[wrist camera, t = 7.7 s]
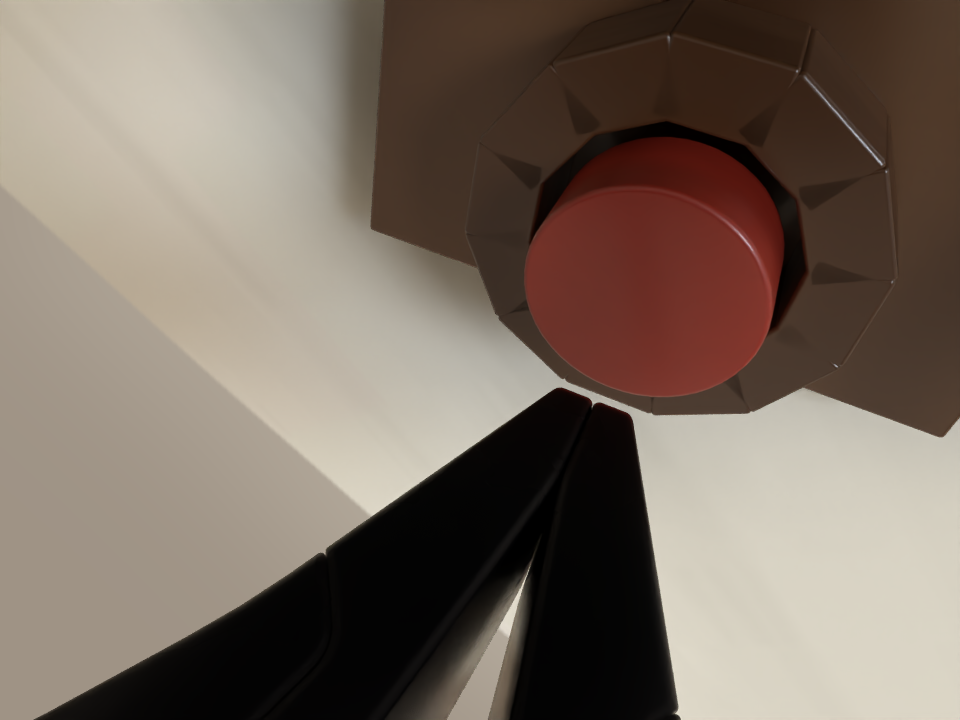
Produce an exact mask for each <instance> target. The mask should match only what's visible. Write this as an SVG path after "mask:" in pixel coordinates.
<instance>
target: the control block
mask: <svg viewBox="0 0 960 720" xmlns="http://www.w3.org/2000/svg"><path fill="white" fill-rule="evenodd" d="M650 137H674V138H682V139H688V140H692V141H696V142H700V143H703V144H706V145H709V146H711V147H714V148H716V149H718V150H720V151H722V152H724V153H726V154H728V155H730V156H731V157H733V158H734V159H736V160H737V161H738V162H740V163H741V164H743V165H744V166H745V167H746V168H747V169H748V170H749V171H751V172H752V173H753V174H754V175H755V176H756V177H757V178H758V180H759V181H760V182H761V183H762V184H763V186H764V187H765V188H766V189H767V191H768V193H769V194H770V196H771V198H772V199H773V201H774V203H775V205H776V208H777V210H778V213H779V215H780V218H781V222H782V226H783V231H784V242H785V248H784V260H783V265H782V270H781V275H780V280H779V285H778V290H777V295H776V300H775V305H774V310H773V316H772V320H771V324H770V328H769V331H768V333H767V336H766V338H765V340H764V343H763V344H762V346H761V347H760V349H759V350H758V352H757V354H756V355H755V356H754V357H753V358H752V359H751V361H750V362H749V363H748V364H747V365H746V366H745V367H744V368H742V369H741V370H740V371H739V372H738V373H736V374H735V375H734V376H732V377H731V378H729V379H728V380H726V381H724V382H723V383H721V384H719V385H716V386H714V387H712V388H710V389H707V390H704V391H701V392H698V393H694V394H689V395H684V396H675V397H649V396H641V395H635V394H630V393H626V392H622V391H619V390H616V389H613V388H610V387H607V386H605V385H603V384H600V383H598V382H596V381H594V380H592V379H590V378H589V377H587V376H585V375H583V374H582V373H580V372H579V371H577V370H576V369H575V368H573V367H572V366H570V365H569V364H568V363H567V362H566V361H565V360H563V359H562V358H561V357H560V356H559V355H558V354H557V353H556V352H555V351H554V350H553V349H552V348H551V346H550V345H549V344H548V342H547V341H546V340H545V339H544V337H543V336H542V334H541V333H540V331H539V329H538V327H537V326H536V324H535V322H534V320H533V317H532V315H531V313H530V310H529V306H528V303H527V299H526V293H525V286H524V268H525V261H526V256H527V253H528V249H529V246H530V244H531V242H532V240H533V237H534V235H535V233H536V232H537V230H538V229H539V227H540V226H541V224H542V223H543V221H544V220H545V218H546V217H547V215H548V214H549V213H550V211H551V210H552V208H553V207H554V205H555V204H556V202H557V201H558V199H559V198H560V196H561V195H562V193H563V192H564V191H565V189H566V188H567V186H568V185H569V183H570V182H571V180H572V179H573V178H574V176H575V175H576V174H577V173H578V172H579V171H580V170H581V168H582V167H583V166H584V165H585V164H587V163H588V162H589V161H591V160H592V159H593V158H594V157H596V156H597V155H599V154H601V153H602V152H604V151H606V150H607V149H610V148H612V147H614V146H617V145H619V144H622V143H625V142H629V141H632V140H636V139H643V138H650ZM370 227H371V229H372V230H374V231H377V232H380V233H382V234H385V235H388V236H391V237H393V238H396V239H399V240H402V241H404V242H407V243H410V244H413V245H415V246H418V247H421V248H423V249H426V250H429V251H432V252H434V253H437V254H440V255H443V256H445V257H448V258H451V259H453V260H456V261H459V262H462V263H464V264H467V265H470V266H473V267H475V268H478V270H479V272H480V275H481V278H482V280H483V283H484V285H485V288H486V291H487V293H488V296H489V298H490V301H491V304H492V306H493V309H494V311H495V314H496V315H497V316H498V318H499V320H500V321H501V322H502V323H503V324H504V325H505V326H506V327H507V328H508V329H509V330H510V331H512V332H513V333H514V334H515V335H516V336H517V337H518V338H519V339H520V340H521V341H522V342H523V343H524V344H525V345H526V346H527V347H528V348H529V349H530V350H532V351H533V352H534V353H535V354H536V355H537V356H538V357H539V358H540V359H541V360H542V361H543V362H544V363H545V364H546V365H547V366H548V367H549V368H550V369H552V370H553V371H554V372H555V373H556V374H557V375H558V376H559V377H560V378H562V379H565V380H566V381H567V382H569V383H571V384H574V385H577V386H579V387H582V388H584V389H587V390H589V391H592V392H595V393H597V394H600V395H602V396H605V397H608V398H610V399H613V400H615V401H618V402H621V403H623V404H626V405H628V406H631V407H633V408H636V409H639V410H641V411H644V412H646V413H652V414H653V415H698V414H747V413H750V411H751V412H753V411H756V410H758V409H760V408H762V407H764V406H766V405H768V404H770V403H772V402H774V401H777V400H779V399H781V398H783V397H785V396H787V395H789V394H791V393H793V392H795V391H797V390H799V389H801V388H806V389H809V390H811V391H814V392H817V393H820V394H822V395H825V396H828V397H831V398H833V399H836V400H839V401H841V402H844V403H847V404H850V405H852V406H855V407H858V408H861V409H863V410H866V411H869V412H872V413H874V414H877V415H880V416H882V417H885V418H888V419H891V420H893V421H896V422H899V423H902V424H904V425H907V426H910V427H913V428H915V429H918V430H921V431H923V432H926V433H929V434H932V435H934V436H937V437H944V436H945V435H946V434H947V432H948V431H949V430H950V429H951V427H952V426H953V425H954V424H955V423H956V421H957V420H958V419H959V418H960V0H384V16H383V32H382V48H381V65H380V81H379V97H378V113H377V129H376V145H375V161H374V177H373V193H372V209H371V226H370Z"/></svg>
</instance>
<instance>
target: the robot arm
mask: <svg viewBox="0 0 960 720" xmlns="http://www.w3.org/2000/svg"><path fill="white" fill-rule="evenodd" d="M529 568H530V569H529ZM528 570H529V572H528ZM527 572H528V575H527ZM526 575H527V577H526ZM525 577H526V580H525V583H524V586H523V589H522V593H521V596H520V600H519V603H518V606H517V610H516V614H515V618H514V622H513V626H512V629H511V633H510V637H509V641H508V645H507V649H506V652H505V656H504V660H503V664H502V668H501V671H500V675H499V679H498V683H497V687H496V691H495V694H494V698H493V702H492V706H491V710H490V713H489V718H488V720H681V718H680V717H679V716H678V715H677V714H675V713H676V712H677V710H678V701H677V695H676V689H675V683H674V676H673V670H672V664H671V657H670V651H669V645H668V639H667V632H666V626H665V620H664V613H663V607H662V601H661V595H660V588H659V582H658V576H657V569H656V563H655V557H654V551H653V544H652V538H651V532H650V525H649V519H648V513H647V507H646V500H645V494H644V488H643V482H642V475H641V469H640V463H639V456H638V450H637V444H636V438H635V431H634V425H633V420H632V418H631V416H630V415H629V414H628V413H626V412H624V411H621V410H618V409H616V408H613V407H611V406H608V405H606V404H603V403H596V404H594V405H593V407H592V401H591V400H590V399H589V398H588V397H585V396H582V395H580V394H577V393H575V392H572V391H569V390H567V389H564V388H556V389H554V390H552V391H551V392H549V393H548V394H546V395H545V396H543V397H542V398H541V399H539V400H538V401H536V402H535V403H533V404H532V405H531V406H529V407H528V408H526V409H525V410H523V411H522V412H521V413H519V414H518V415H516V416H515V417H513V418H512V419H511V420H509V421H508V422H506V423H505V424H503V425H502V426H501V427H499V428H498V429H496V430H495V431H493V432H492V433H491V434H489V435H488V436H486V437H485V438H483V439H482V440H480V441H479V442H478V443H476V444H475V445H473V446H472V447H470V448H469V449H468V450H466V451H465V452H463V453H462V454H460V455H459V456H458V457H456V458H455V459H453V460H452V461H450V462H449V463H448V464H446V465H445V466H443V467H442V468H440V469H439V470H438V471H436V472H435V473H433V474H432V475H430V476H429V477H428V478H426V479H425V480H423V481H422V482H420V483H419V484H418V485H416V486H415V487H413V488H412V489H410V490H409V491H408V492H406V493H405V494H403V495H402V496H400V497H399V498H398V499H396V500H395V501H393V502H392V503H390V504H389V505H387V506H386V507H385V508H383V509H382V510H380V511H379V512H377V513H376V514H375V515H373V516H372V517H370V518H369V519H368V520H366V521H365V522H363V523H362V524H360V525H359V526H357V527H356V528H355V529H353V530H352V531H351V532H349V533H347V534H346V535H345V536H343V537H342V538H340V539H339V540H337V541H336V542H335V543H333V544H332V545H330V546H329V547H328V548H327V549H326V555H325V554H324V553H318V554H317V555H315V556H314V557H313V558H311V559H310V560H308V561H307V562H305V563H304V564H303V565H301V566H300V567H298V568H297V569H295V570H294V571H293V572H291V573H290V574H288V575H287V576H285V577H284V578H282V579H281V580H279V581H278V582H276V583H275V584H273V585H271V586H270V587H268V588H267V589H265V590H264V591H262V592H261V593H259V594H258V595H256V596H255V597H253V598H252V599H250V600H249V601H247V602H245V603H244V604H242V605H241V606H239V607H237V608H236V609H234V610H232V611H231V612H229V613H227V614H225V615H224V616H222V617H220V618H218V619H217V620H215V621H213V622H211V623H210V624H208V625H206V626H205V627H203V628H201V629H199V630H198V631H196V632H194V633H192V634H191V635H189V636H187V637H185V638H184V639H182V640H180V641H178V642H176V643H174V644H173V645H171V646H169V647H167V648H165V649H164V650H162V651H160V652H158V653H156V654H154V655H152V656H150V657H149V658H147V659H145V660H143V661H141V662H140V663H138V664H136V665H134V666H132V667H130V668H129V669H127V670H125V671H123V672H121V673H119V674H117V675H116V676H114V677H112V678H110V679H108V680H106V681H105V682H103V683H101V684H99V685H97V686H95V687H94V688H92V689H90V690H88V691H86V692H84V693H83V694H81V695H79V696H77V697H75V698H73V699H72V700H70V701H68V702H66V703H64V704H62V705H61V706H59V707H57V708H55V709H53V710H51V711H50V712H48V713H46V714H44V715H42V716H40V717H38V718H36V719H34V720H447V718H448V716H449V714H450V712H451V711H452V709H453V707H454V705H455V704H456V702H457V700H458V698H459V697H460V695H461V693H462V691H463V689H464V688H465V686H466V684H467V682H468V681H469V679H470V677H471V675H472V674H473V672H474V670H475V668H476V666H477V665H478V663H479V661H480V659H481V657H482V656H483V654H484V652H485V651H486V649H487V647H488V645H489V644H490V642H491V640H492V638H493V636H494V635H495V633H496V631H497V629H498V628H499V626H500V624H501V622H502V621H503V619H504V617H505V615H506V613H507V612H508V610H509V608H510V606H511V605H512V603H513V601H514V599H515V597H516V595H517V593H518V591H519V589H520V588H521V586H522V584H523V581H524V579H525Z"/></svg>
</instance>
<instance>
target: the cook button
mask: <svg viewBox="0 0 960 720" xmlns="http://www.w3.org/2000/svg"><path fill="white" fill-rule="evenodd" d="M784 248H785V242H784V231H783V226H782V222H781V218H780V215H779V213H778V210H777V208H776V205H775V203H774V201H773V199H772V198H771V196H770V194H769V193H768V191H767V189H766V188H765V187H764V186H763V184H762V183H761V182H760V181H759V180H758V178H757V177H756V176H755V175H754V174H753V173H752V172H751V171H749V170H748V169H747V168H746V167H745V166H744V165H743V164H741V163H740V162H738V161H737V160H736V159H734V158H733V157H731V156H730V155H728V154H726V153H724V152H722V151H720V150H718V149H716V148H714V147H711V146H709V145H706V144H703V143H700V142H696V141H692V140H688V139H682V138H674V137H650V138H643V139H636V140H632V141H629V142H625V143H622V144H619V145H617V146H614V147H612V148H610V149H607V150H606V151H604V152H602V153H601V154H599V155H597V156H596V157H594V158H593V159H592V160H591V161H589V162H588V163H587V164H585V165H584V166H583V167H582V168H581V170H580V171H579V172H578V173H577V174H576V175H575V176H574V178H573V179H572V180H571V182H570V183H569V185H568V186H567V188H566V189H565V191H564V192H563V193H562V195H561V196H560V198H559V199H558V201H557V202H556V204H555V205H554V207H553V208H552V210H551V211H550V213H549V214H548V215H547V217H546V218H545V220H544V221H543V223H542V224H541V226H540V227H539V229H538V230H537V232H536V233H535V235H534V237H533V240H532V242H531V244H530V246H529V249H528V253H527V256H526V261H525V268H524V286H525V293H526V299H527V303H528V306H529V310H530V313H531V315H532V317H533V320H534V322H535V324H536V326H537V327H538V329H539V331H540V333H541V334H542V336H543V337H544V339H545V340H546V341H547V342H548V344H549V345H550V346H551V348H552V349H553V350H554V351H555V352H556V353H557V354H558V355H559V356H560V357H561V358H562V359H563V360H565V361H566V362H567V363H568V364H569V365H570V366H572V367H573V368H575V369H576V370H577V371H579V372H580V373H582V374H583V375H585V376H587V377H589V378H590V379H592V380H594V381H596V382H598V383H600V384H603V385H605V386H607V387H610V388H613V389H616V390H619V391H622V392H626V393H630V394H635V395H641V396H649V397H675V396H684V395H689V394H694V393H698V392H701V391H704V390H707V389H710V388H712V387H714V386H716V385H719V384H721V383H723V382H724V381H726V380H728V379H729V378H731V377H732V376H734V375H735V374H736V373H738V372H739V371H740V370H741V369H742V368H744V367H745V366H746V365H747V364H748V363H749V362H750V361H751V359H752V358H753V357H754V356H755V355H756V354H757V352H758V350H759V349H760V347H761V346H762V344H763V343H764V340H765V338H766V336H767V333H768V331H769V328H770V324H771V320H772V316H773V310H774V305H775V300H776V295H777V290H778V285H779V280H780V275H781V270H782V265H783V260H784Z"/></svg>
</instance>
